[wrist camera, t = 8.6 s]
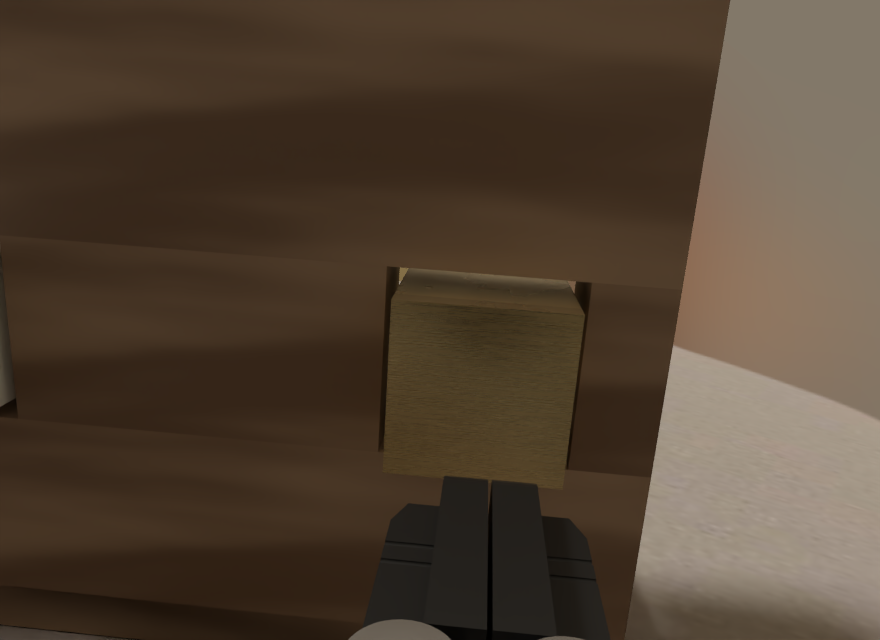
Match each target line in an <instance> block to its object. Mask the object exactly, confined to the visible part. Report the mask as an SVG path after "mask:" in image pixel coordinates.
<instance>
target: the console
mask: <svg viewBox="0 0 880 640" xmlns="http://www.w3.org/2000/svg"><path fill="white" fill-rule="evenodd" d="M729 4H730V0H0V250H1V260H2V269H3V279H4V288H5V298H6V307H7V317H8V326H9V336H10V345H11V355H12V364H13V374H14V383H15V393H16V398H15V399H13V400H11V401H10V402H8V403H6V404H4V405H3V406H1V407H0V624H1V625H10V626H19V627H29V628H38V629H47V630H56V631H66V632H75V633H84V634H94V635H103V636H112V637H121V638H131V639H140V640H348V639H349V638H350V637H351V636H353V635H354V634H355V633H356V632H358V631H359V630H361V629H362V627H363V623H364V620H365V616H366V612H367V608H368V604H369V600H370V597H371V593H372V589H373V585H374V581H375V577H376V574H377V570H378V566H379V562H380V559H381V554H382V551H383V547H384V545H385V539H386V535H387V531H388V528H389V524H390V520H391V519H392V518H393V517H394V516H395V515H396V514H397V513H398V512H399V511H400V510H402V509H403V508H404V507H405V506H406V505H407V504H408V503H411V504H421V505H432V506H440V500H441V493H442V485H443V478H432V477H422V476H411V475H401V474H390V473H383V456H384V436H385V416H386V396H387V376H388V355H389V335H390V315H391V299H392V297H393V295H394V294H395V292H396V290H397V288H398V287H399V269H400V267H403V268H415V269H428V270H440V271H453V272H465V273H478V274H490V275H503V276H515V277H528V278H540V279H553V280H565V281H576V285H575V293H574V295H575V297H576V299H577V301H578V302H579V304H580V306H581V308H582V310H583V312H584V314H585V319H584V327H583V334H582V342H581V350H580V358H579V366H578V373H577V381H576V389H575V397H574V404H573V412H572V420H571V428H570V436H569V443H568V451H567V459H566V467H565V475H564V482H563V490H560V489H549V488H538V493H539V501H540V508H541V516H549V517H559V518H569V519H570V520H571V521H572V522H573V523H574V525H575V526H576V527H577V528H578V529H579V530H580V531H581V532H582V534H583V535H584V536H585V537H586V538H587V541H588V545H589V549H590V554H591V558H592V565H593V566H594V571H595V575H596V584H598V588H599V592H600V596H601V601H602V605H603V609H604V613H605V618H606V622H607V626H608V630H609V635H610V639H611V640H624V637H625V631H626V625H627V619H628V613H629V607H630V601H631V595H632V589H633V583H634V577H635V571H636V565H637V559H638V552H639V546H640V540H641V534H642V528H643V522H644V516H645V510H646V504H647V498H648V492H649V486H650V480H651V474H652V468H653V462H654V456H655V450H656V444H657V438H658V432H659V426H660V420H661V414H662V408H663V402H664V396H665V390H666V384H667V378H668V372H669V366H670V360H671V354H672V348H673V342H674V335H675V330H676V324H677V317H678V311H679V305H680V299H681V293H682V287H683V281H684V275H685V269H686V263H687V257H688V251H689V245H690V239H691V233H692V227H693V221H694V215H695V208H696V203H697V197H698V191H699V185H700V179H701V173H702V167H703V161H704V155H705V149H706V143H707V137H708V131H709V125H710V119H711V113H712V106H713V101H714V94H715V89H716V83H717V77H718V70H719V65H720V59H721V52H722V46H723V40H724V34H725V28H726V22H727V16H728V9H729ZM490 490H491V483H488V511H489V501H490Z"/></svg>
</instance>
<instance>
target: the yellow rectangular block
mask: <svg viewBox="0 0 880 640" xmlns="http://www.w3.org/2000/svg"><path fill="white" fill-rule="evenodd" d="M584 319H585V314H584V312H583V310H582V308H581V306H580V304H579V302H578V301H577V299H576V297H575V295H574V293H573V291H572V289H571V287H570V285H569V283H568V281H565V280H553V279H540V278H528V277H515V276H503V275H490V274H478V273H465V272H453V271H440V270H428V269H415V268H409V269H408V271H407V273H406V274H405V276H404V278H403V280H402V281H401V283H400V285H399V287H398V288H397V290H396V292H395V294H394V295H393V297H392V299H391V315H390V335H389V355H388V376H387V396H386V416H385V436H384V456H383V473H390V474H401V475H411V476H422V477H432V478H444V476H455V477H466V478H477V479H487V480H488V483H491V482H492V480H500V481H510V482H521V483H532V484H537V486H538V488H549V489H560V490H563V482H564V475H565V467H566V459H567V451H568V443H569V436H570V428H571V420H572V412H573V404H574V397H575V389H576V381H577V373H578V366H579V358H580V350H581V342H582V334H583V327H584Z"/></svg>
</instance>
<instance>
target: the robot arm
mask: <svg viewBox="0 0 880 640" xmlns="http://www.w3.org/2000/svg"><path fill="white" fill-rule="evenodd" d="M348 640H611V639H610V635H609V630H608V626H607V622H606V618H605V613H604V609H603V605H602V601H601V596H600V592H599V588H598V584H596V575H595V571H594V566H593V565H592V558H591V554H590V549H589V545H588V541H587V538H586V537H585V536H584V535H583V534H582V532H581V531H580V530H579V529H578V528H577V527H576V526H575V525H574V523H573V522H572V521H571V520H570V519H569V518H559V517H549V516H541V508H540V501H539V493H538V486H537V484H532V483H521V482H510V481H500V480H492V482H491V490H490V501H489V511H488V480H487V479H477V478H466V477H455V476H444V478H443V485H442V493H441V500H440V506H432V505H421V504H411V503H408V504H407V505H406V506H405V507H404V508H403V509H402V510H400V511H399V512H398V513H397V514H396V515H395V516H394V517H393V518H392V519H391V520H390V524H389V528H388V531H387V535H386V539H385V545H384V547H383V551H382V554H381V559H380V562H379V566H378V570H377V574H376V577H375V581H374V585H373V589H372V593H371V597H370V600H369V604H368V608H367V612H366V616H365V620H364V623H363V627H362V629H361V630H359V631H358V632H356V633H355V634H354V635H353V636H351V637H350V638H349V639H348Z"/></svg>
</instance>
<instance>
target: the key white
mask: <svg viewBox="0 0 880 640" xmlns="http://www.w3.org/2000/svg"><path fill="white" fill-rule="evenodd" d="M15 398H16V393H15V383H14V374H13V364H12V355H11V345H10V336H9V326H8V317H7V307H6V298H5V288H4V279H3V269H2V260H1V250H0V407H1V406H3V405H4V404H6V403H8V402H10V401H11V400H13V399H15Z"/></svg>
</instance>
